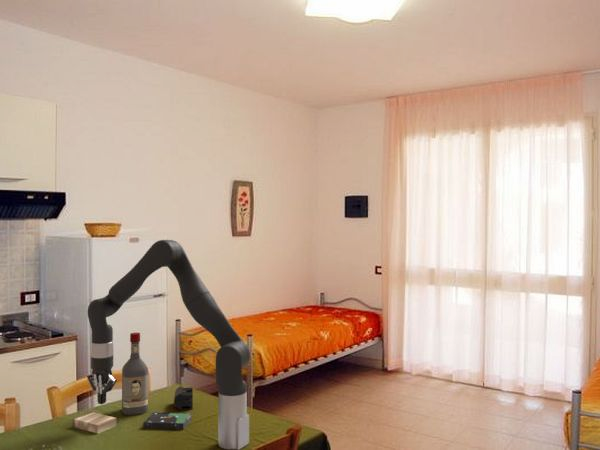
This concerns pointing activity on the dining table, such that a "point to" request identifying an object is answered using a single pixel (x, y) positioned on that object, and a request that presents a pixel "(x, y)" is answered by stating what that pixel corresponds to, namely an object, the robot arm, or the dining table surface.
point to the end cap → (183, 398)
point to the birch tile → (94, 422)
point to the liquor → (134, 381)
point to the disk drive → (167, 420)
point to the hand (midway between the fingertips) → (101, 403)
